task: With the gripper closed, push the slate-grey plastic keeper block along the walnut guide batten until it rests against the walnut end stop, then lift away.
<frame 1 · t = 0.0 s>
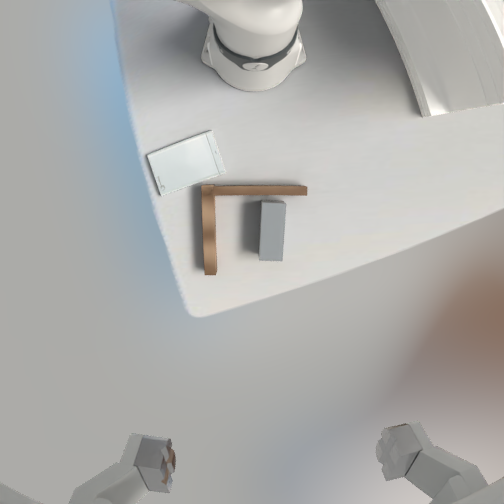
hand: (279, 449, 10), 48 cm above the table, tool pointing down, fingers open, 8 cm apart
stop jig: (210, 228, 56), on the table
hard drive: (187, 163, 54), on the table
keeper block: (270, 227, 57), on the table
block: (408, 38, 46), on the table
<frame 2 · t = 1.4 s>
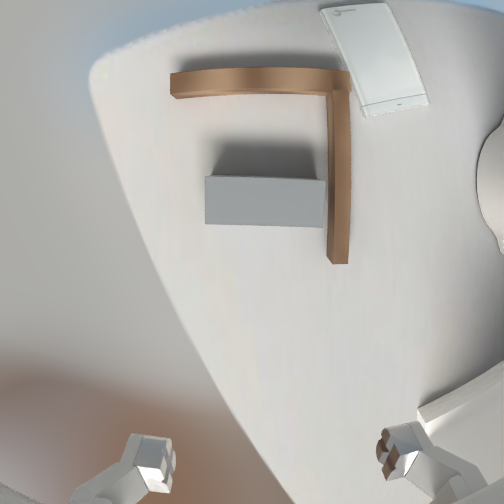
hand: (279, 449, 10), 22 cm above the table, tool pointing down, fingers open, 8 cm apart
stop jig: (260, 84, 26), on the table
hard drive: (373, 58, 26), on the table
keeper block: (263, 196, 29), on the table
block: (498, 376, 37), on the table
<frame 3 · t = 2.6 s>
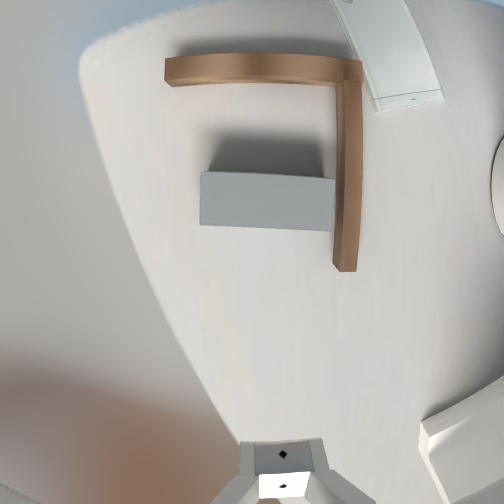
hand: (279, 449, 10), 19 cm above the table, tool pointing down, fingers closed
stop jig: (264, 72, 23), on the table
hard drive: (386, 49, 23), on the table
keeper block: (265, 196, 27), on the table
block: (503, 387, 35), on the table
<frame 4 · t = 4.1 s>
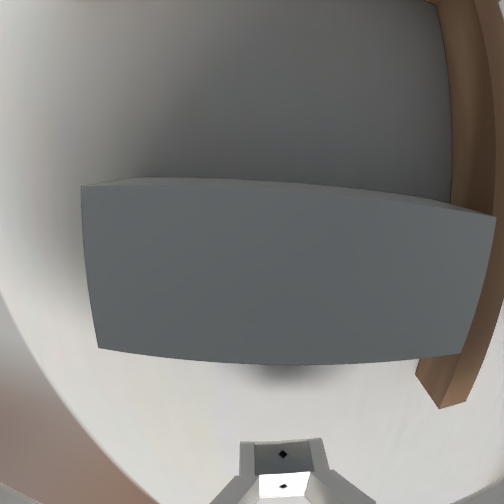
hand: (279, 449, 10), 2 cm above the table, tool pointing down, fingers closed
keeper block: (287, 242, 10), on the table
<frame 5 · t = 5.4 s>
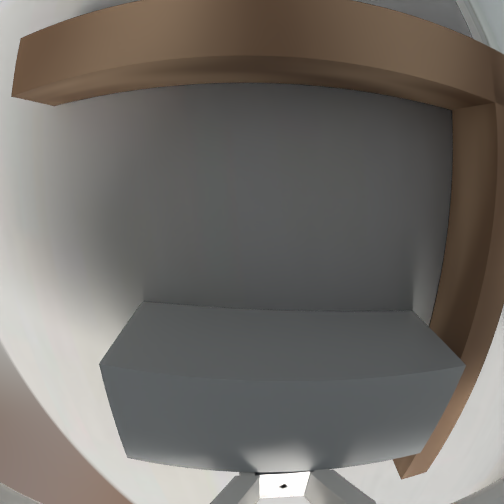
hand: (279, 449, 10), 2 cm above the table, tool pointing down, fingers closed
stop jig: (284, 55, 8), on the table
keeper block: (280, 356, 11), on the table
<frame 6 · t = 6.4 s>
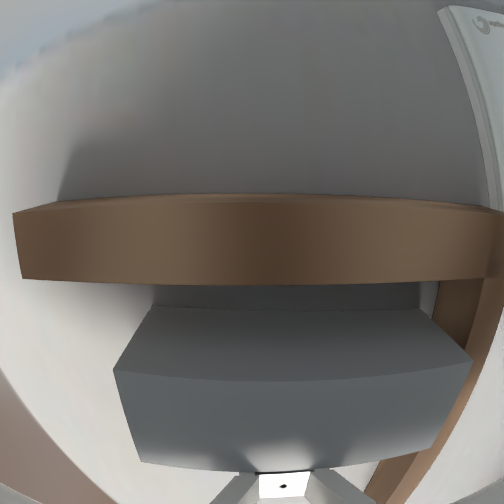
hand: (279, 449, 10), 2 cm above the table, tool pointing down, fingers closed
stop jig: (284, 225, 10), on the table
keeper block: (290, 356, 11), on the table
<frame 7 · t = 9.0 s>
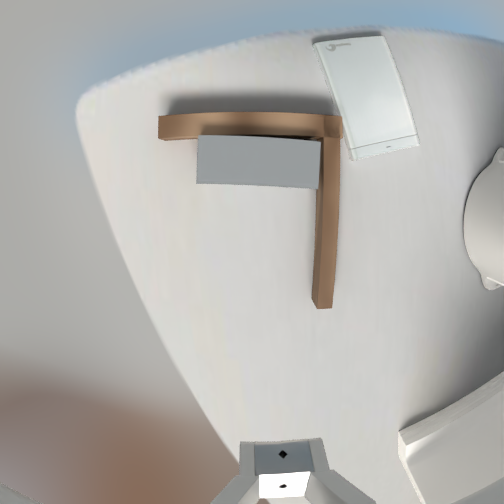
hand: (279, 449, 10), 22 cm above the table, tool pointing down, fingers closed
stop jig: (250, 127, 27), on the table
hard drive: (365, 95, 27), on the table
keeper block: (256, 162, 28), on the table
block: (479, 399, 39), on the table
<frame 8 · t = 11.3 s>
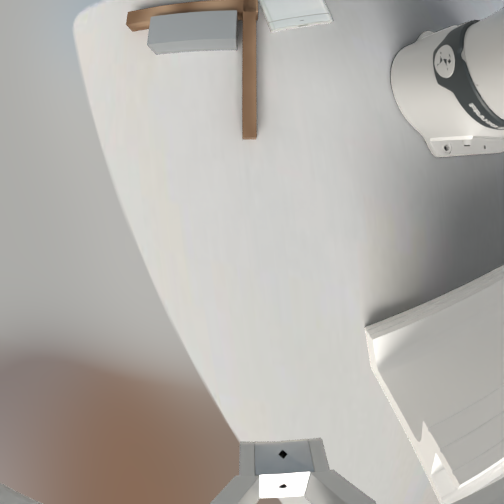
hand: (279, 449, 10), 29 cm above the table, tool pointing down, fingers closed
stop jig: (193, 16, 30), on the table
keeper block: (196, 38, 31), on the table
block: (461, 307, 41), on the table
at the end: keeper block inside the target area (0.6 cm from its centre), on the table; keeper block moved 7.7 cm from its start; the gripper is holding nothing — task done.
